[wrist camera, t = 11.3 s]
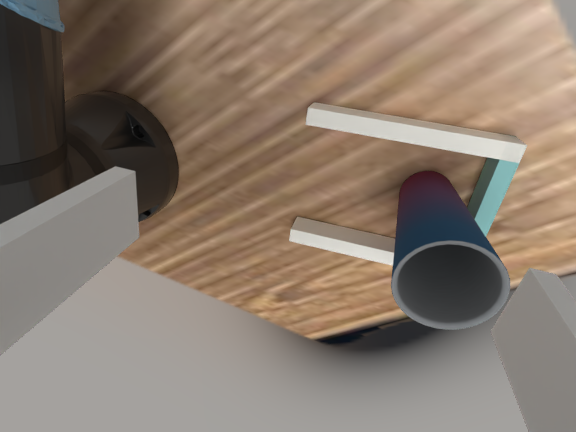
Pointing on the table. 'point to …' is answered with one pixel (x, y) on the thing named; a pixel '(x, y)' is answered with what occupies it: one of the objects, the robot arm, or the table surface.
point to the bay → (494, 146)
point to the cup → (443, 258)
